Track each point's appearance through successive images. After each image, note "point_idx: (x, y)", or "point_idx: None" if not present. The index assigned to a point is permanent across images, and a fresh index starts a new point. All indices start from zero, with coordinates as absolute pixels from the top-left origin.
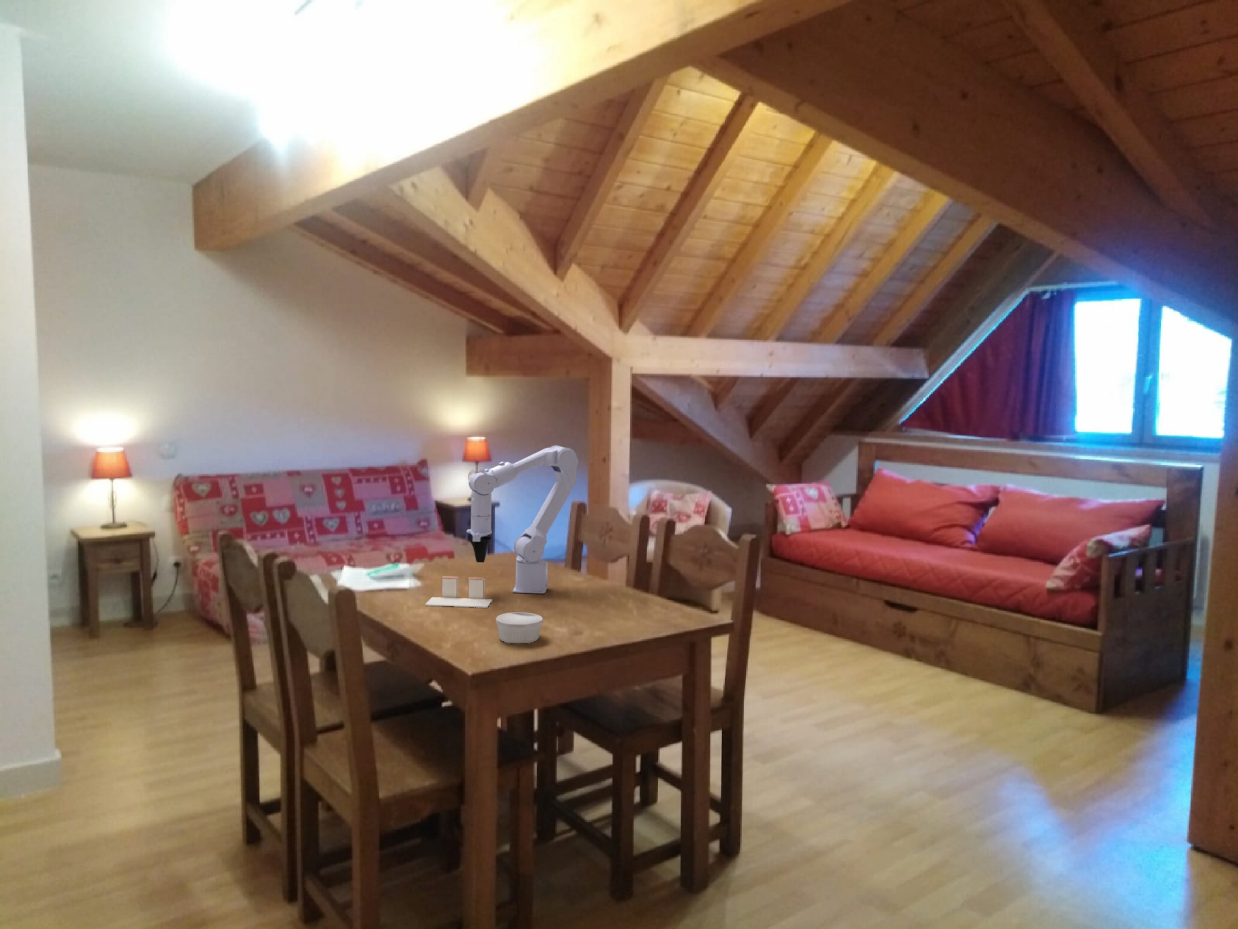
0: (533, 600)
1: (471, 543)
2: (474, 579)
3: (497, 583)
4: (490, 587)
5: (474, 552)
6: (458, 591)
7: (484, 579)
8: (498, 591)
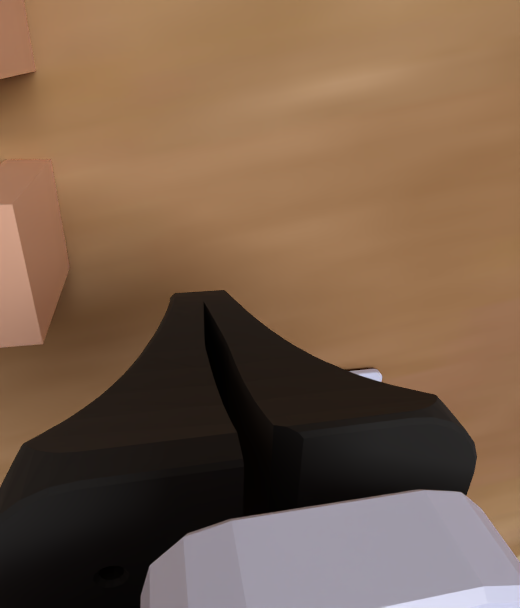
0: None
1: (56, 427)
2: None
3: (457, 259)
4: (362, 240)
5: (152, 341)
6: (23, 73)
7: (7, 342)
8: (267, 305)
